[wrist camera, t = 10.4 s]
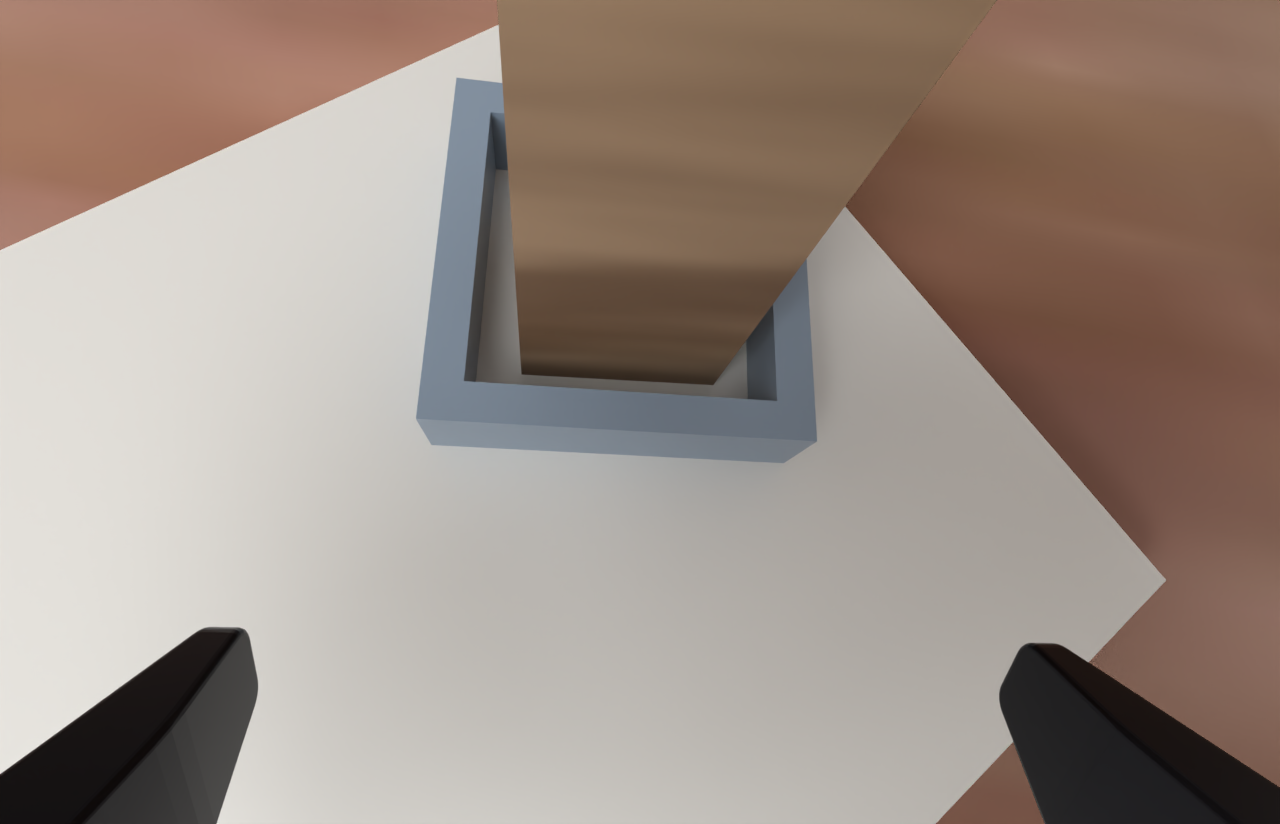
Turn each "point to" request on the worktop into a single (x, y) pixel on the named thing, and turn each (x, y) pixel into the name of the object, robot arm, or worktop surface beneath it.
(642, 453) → the socket
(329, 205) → the white rectangular sheet
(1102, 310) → the worktop surface
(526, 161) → the walnut column
